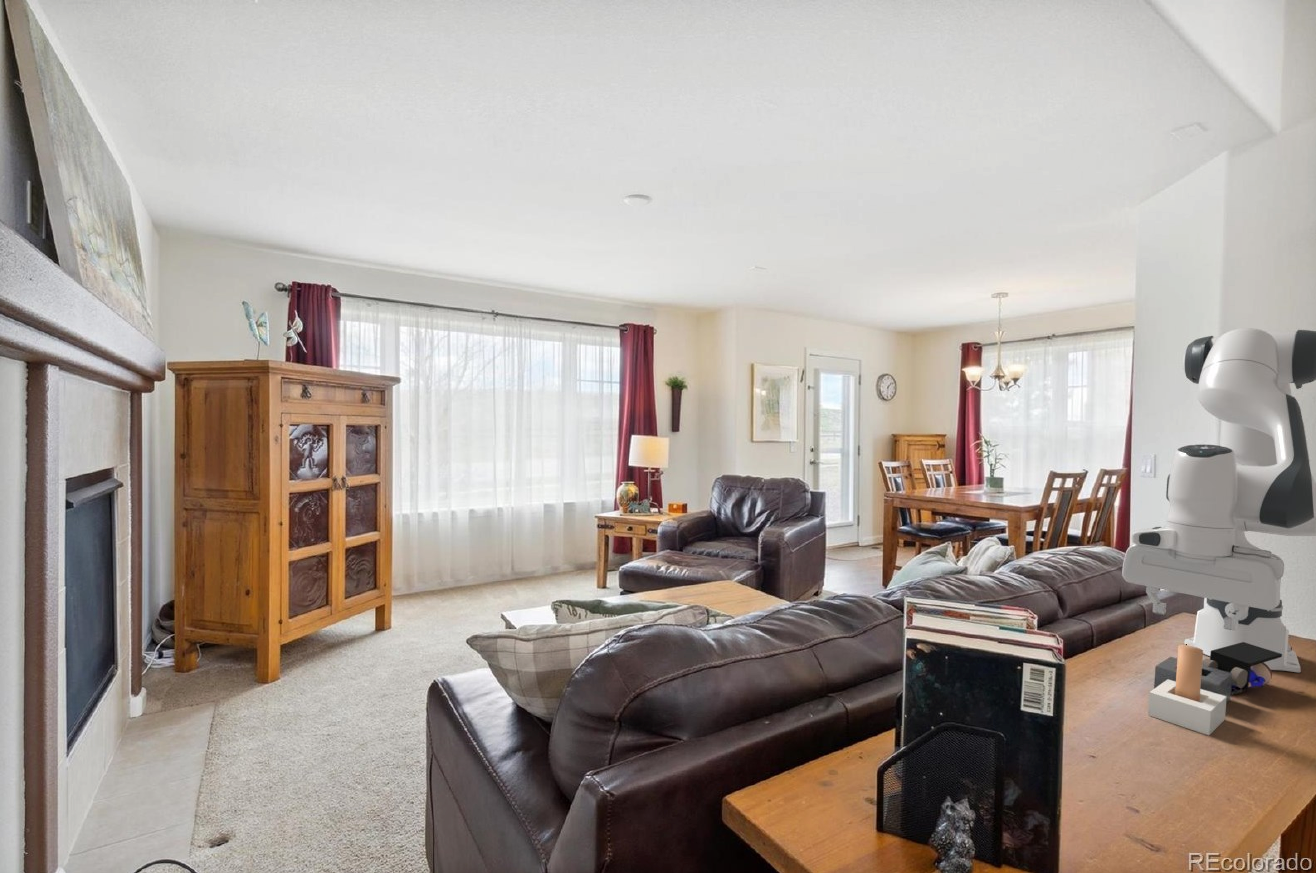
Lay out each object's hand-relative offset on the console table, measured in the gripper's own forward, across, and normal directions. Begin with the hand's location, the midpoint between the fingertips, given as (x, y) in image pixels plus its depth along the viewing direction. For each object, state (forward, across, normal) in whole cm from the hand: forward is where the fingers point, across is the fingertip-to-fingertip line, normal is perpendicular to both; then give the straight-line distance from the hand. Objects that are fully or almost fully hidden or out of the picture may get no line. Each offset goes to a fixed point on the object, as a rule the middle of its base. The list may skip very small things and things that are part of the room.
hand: (1193, 620), depth 105 cm
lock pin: (+17, 0, +1) cm, 17 cm away
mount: (+17, +2, -11) cm, 20 cm away
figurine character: (+18, -2, -25) cm, 31 cm away
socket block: (+17, 0, +1) cm, 17 cm away
